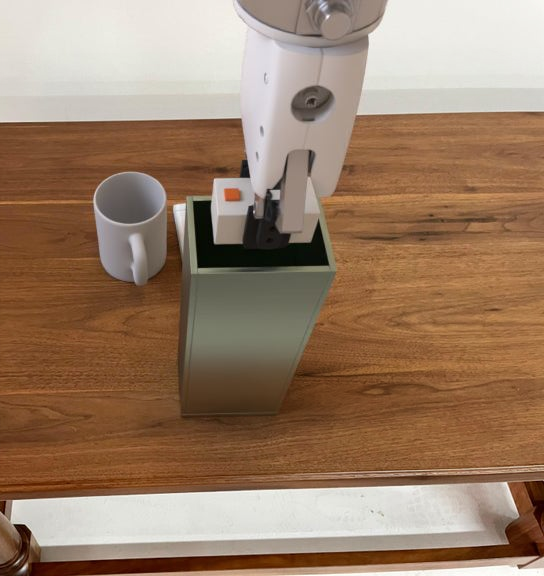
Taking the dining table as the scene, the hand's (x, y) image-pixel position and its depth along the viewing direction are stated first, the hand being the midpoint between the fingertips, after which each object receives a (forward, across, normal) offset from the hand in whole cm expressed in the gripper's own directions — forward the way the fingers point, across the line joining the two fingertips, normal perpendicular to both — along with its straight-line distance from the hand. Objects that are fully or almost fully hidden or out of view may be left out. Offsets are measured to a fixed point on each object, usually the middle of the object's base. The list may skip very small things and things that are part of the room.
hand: (261, 221), depth 44 cm
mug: (+28, +17, +10) cm, 34 cm away
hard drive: (+28, +20, 0) cm, 35 cm away
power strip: (0, 0, 0) cm, 0 cm away
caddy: (+28, 0, 0) cm, 28 cm away
